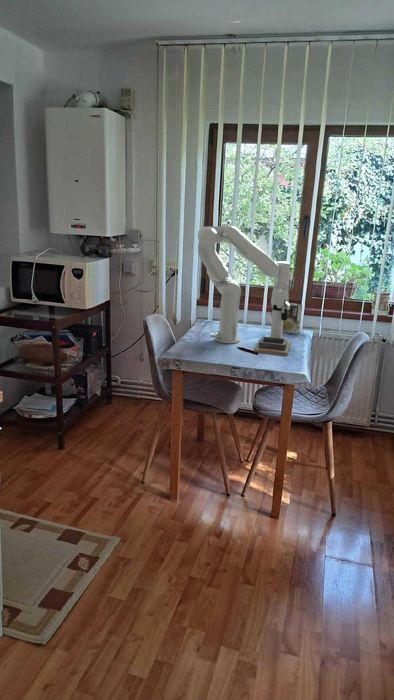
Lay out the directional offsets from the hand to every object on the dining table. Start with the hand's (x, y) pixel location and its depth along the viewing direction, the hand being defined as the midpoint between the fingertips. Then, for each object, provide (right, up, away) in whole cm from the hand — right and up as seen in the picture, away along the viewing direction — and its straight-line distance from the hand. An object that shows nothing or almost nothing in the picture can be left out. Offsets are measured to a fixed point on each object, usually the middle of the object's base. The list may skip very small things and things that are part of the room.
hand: (279, 318), depth 257 cm
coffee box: (+10, -7, +23) cm, 26 cm away
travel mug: (-1, -12, +3) cm, 12 cm away
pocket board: (-5, -16, -12) cm, 21 cm away
